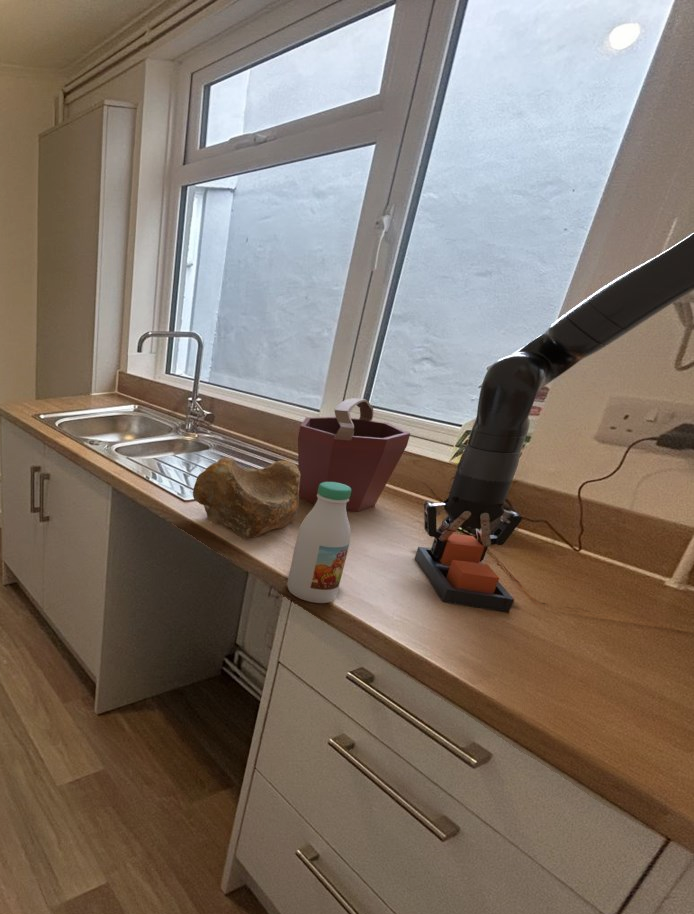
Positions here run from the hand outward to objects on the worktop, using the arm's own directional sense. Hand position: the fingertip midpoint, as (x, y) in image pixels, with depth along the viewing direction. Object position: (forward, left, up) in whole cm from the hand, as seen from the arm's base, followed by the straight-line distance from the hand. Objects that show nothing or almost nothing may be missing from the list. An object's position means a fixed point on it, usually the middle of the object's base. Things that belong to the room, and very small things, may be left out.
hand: (455, 559), depth 97 cm
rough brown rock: (+35, -8, -3) cm, 36 cm away
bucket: (+15, -35, -3) cm, 38 cm away
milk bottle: (+25, +17, -3) cm, 31 cm away
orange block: (0, 0, 0) cm, 0 cm away
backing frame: (0, +4, -3) cm, 5 cm away
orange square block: (0, +8, -2) cm, 8 cm away
